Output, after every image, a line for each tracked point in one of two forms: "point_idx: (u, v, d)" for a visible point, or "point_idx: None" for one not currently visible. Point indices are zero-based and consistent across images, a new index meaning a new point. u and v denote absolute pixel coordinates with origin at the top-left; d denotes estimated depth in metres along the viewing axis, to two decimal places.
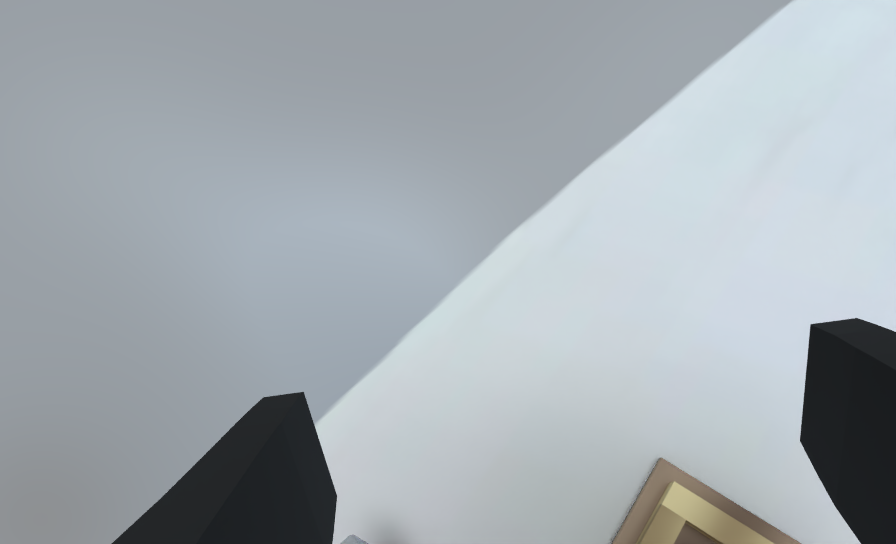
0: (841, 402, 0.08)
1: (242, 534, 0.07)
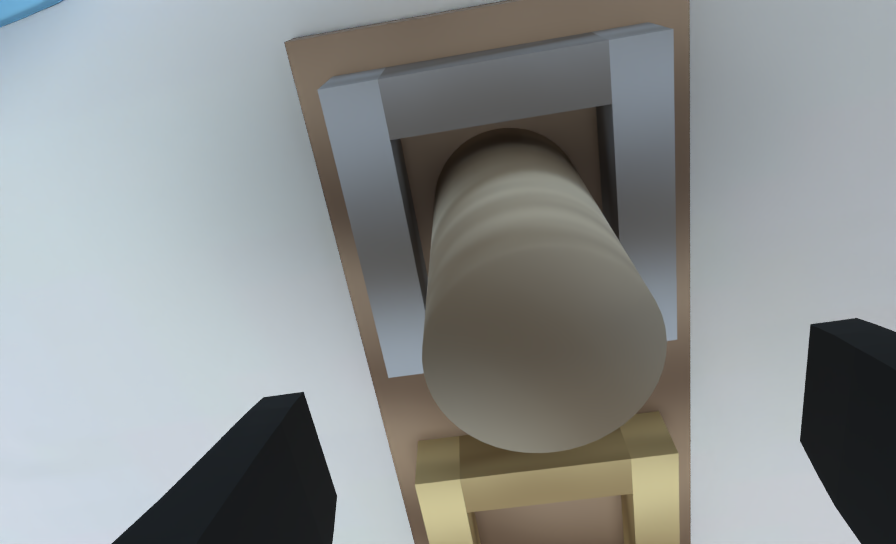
0: (841, 402, 0.08)
1: (242, 534, 0.07)
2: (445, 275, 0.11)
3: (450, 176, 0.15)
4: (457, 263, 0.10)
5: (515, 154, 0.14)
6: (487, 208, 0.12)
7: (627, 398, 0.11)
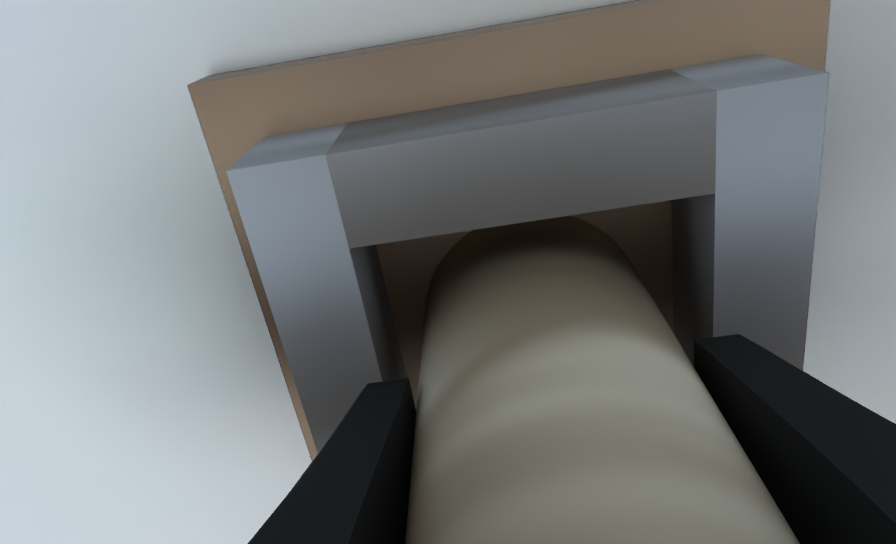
0: None
1: (381, 518, 0.07)
2: None
3: (447, 302, 0.10)
4: None
5: (555, 280, 0.09)
6: (520, 446, 0.06)
7: None
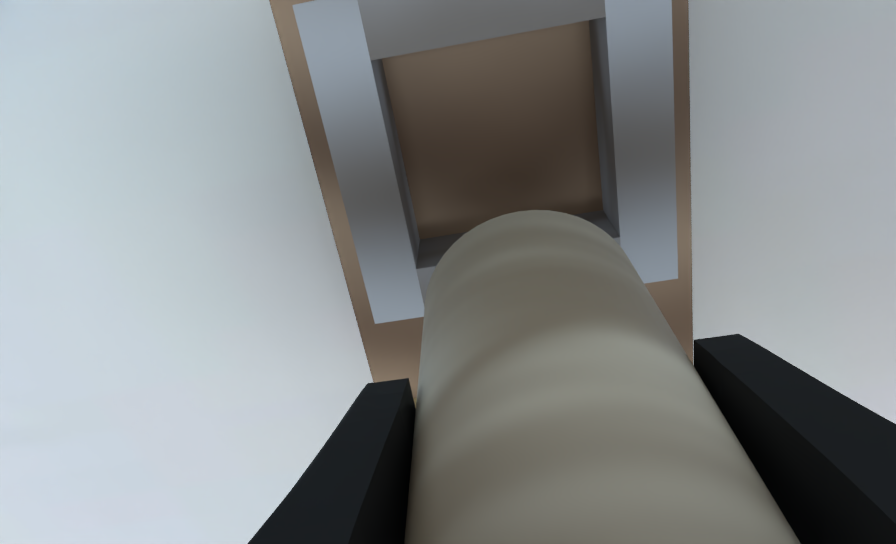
0: None
1: (381, 518, 0.07)
2: None
3: (446, 300, 0.10)
4: None
5: (554, 278, 0.09)
6: (519, 444, 0.06)
7: None
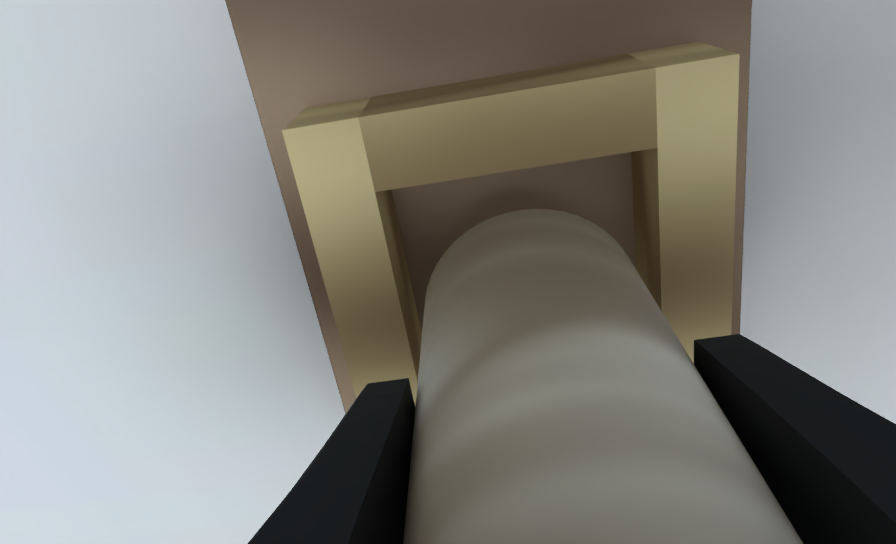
0: None
1: (381, 518, 0.07)
2: None
3: (446, 298, 0.10)
4: None
5: (553, 276, 0.09)
6: (518, 439, 0.06)
7: None
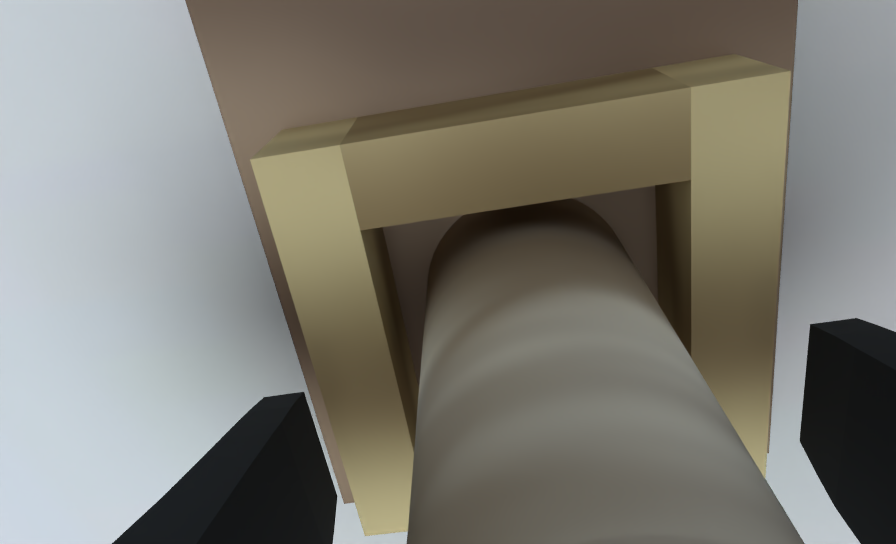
0: (841, 402, 0.08)
1: (242, 534, 0.07)
2: (439, 540, 0.06)
3: (448, 271, 0.11)
4: (461, 523, 0.06)
5: (546, 249, 0.09)
6: (512, 380, 0.07)
7: None
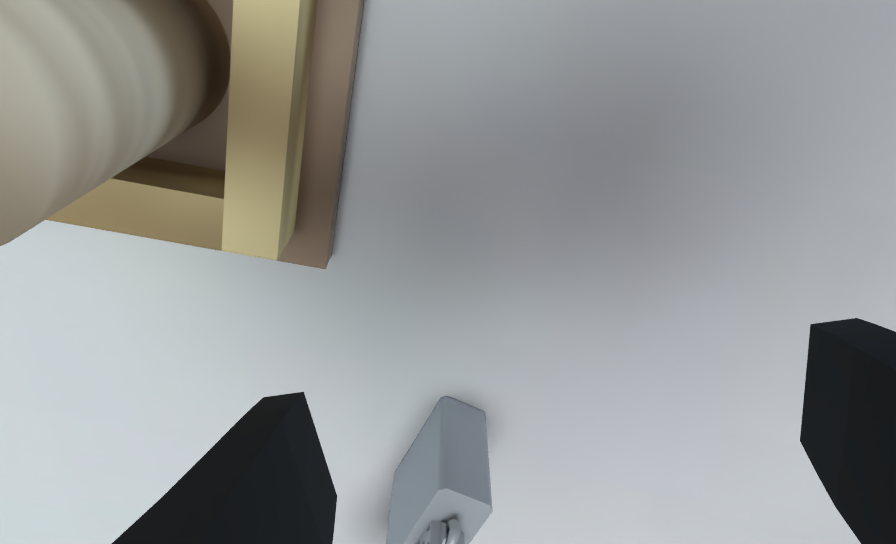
0: (841, 402, 0.08)
1: (242, 534, 0.07)
2: None
3: None
4: None
5: None
6: None
7: (13, 208, 0.09)
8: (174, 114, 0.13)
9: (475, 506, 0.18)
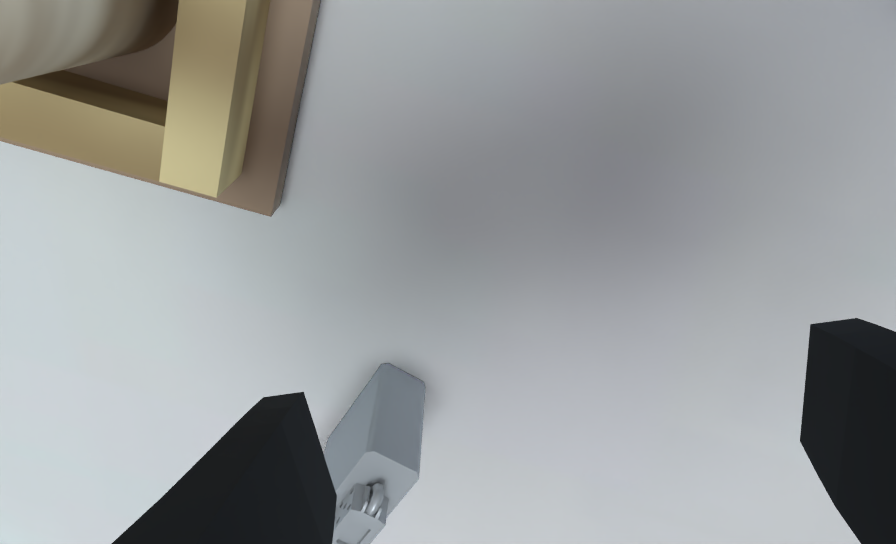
0: (841, 402, 0.08)
1: (242, 534, 0.07)
2: None
3: None
4: None
5: None
6: None
7: None
8: (110, 20, 0.12)
9: (402, 472, 0.18)
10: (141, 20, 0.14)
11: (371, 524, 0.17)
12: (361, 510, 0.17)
